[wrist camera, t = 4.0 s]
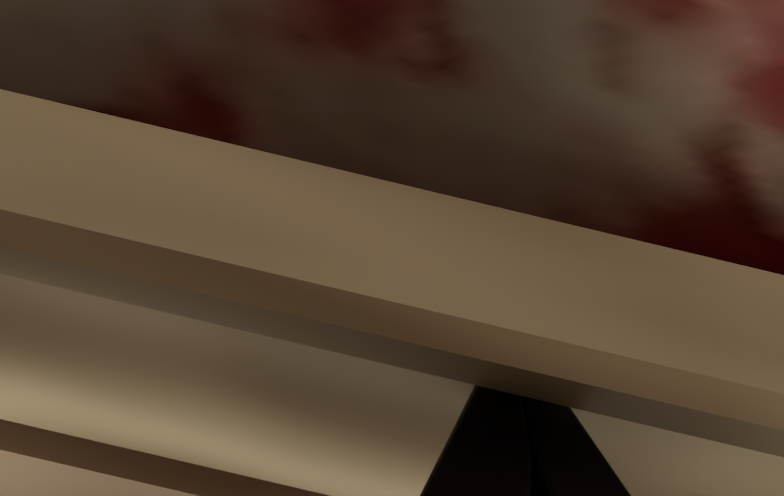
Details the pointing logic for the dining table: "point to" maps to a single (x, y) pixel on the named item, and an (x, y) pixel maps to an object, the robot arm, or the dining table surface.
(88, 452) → the floor board
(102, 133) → the click plank
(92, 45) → the dining table surface
